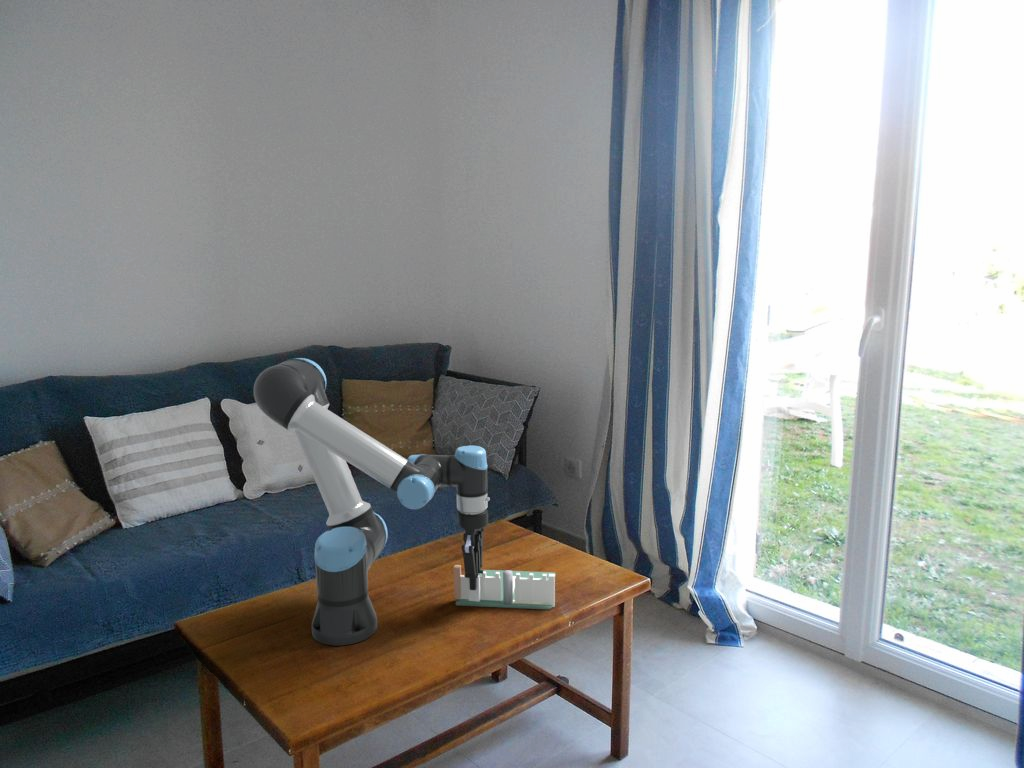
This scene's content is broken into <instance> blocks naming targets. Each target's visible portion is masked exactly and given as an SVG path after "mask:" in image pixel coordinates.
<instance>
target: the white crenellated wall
mask: <svg viewBox="0 0 1024 768" xmlns="http://www.w3.org/2000/svg"><path fill="white" fill-rule="evenodd" d="M464 575H465V574H462V565H461V564H454V566H453V595H454V596H453V598H454V600H457V599H469V597H468V578H466V577H465V576H464ZM480 598H481V599H480V600H496V601H499V600H500V601H501V577H500V572H496V574H495V577H493V576H486V571H483V574H482V576H480Z"/></svg>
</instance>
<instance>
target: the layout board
mask: <svg viewBox="0 0 1024 768" xmlns="http://www.w3.org/2000/svg"><path fill="white" fill-rule="evenodd" d="M482 570H483V571H486V576H493V577H495V574H496V572H500V577H501V601H500V600H499V601H496V600H480V601H479V602H478V601H469V599H456V602H455V606H461V607H462V606H463V607H465V606H466V607H488V608H504V609H505V608H506V609H507V608H508V609H527V610H528V609H529V610H531V609H532V610H535V609H536V610H552V608H553V607H552V604H549V603H543V602H522V601H520V602H516V601H515V577H516V573H520V578H529V574H530V573H533V578H542V579H543V574H547V579H549V574H555V577H556V575H557V572H555V571H554V572H552V571H551V572H550V571H548V572H547V571H527V570H526V571H524V570H520V571H519V570H511V571H512V572H513V602H512V603H511V604H506V603H504V602H503V571H505V570H504V569H503V570H501V569H500V570H499V569H498V570H497V569H482ZM479 574H480V573H479ZM480 576H482V574H480Z"/></svg>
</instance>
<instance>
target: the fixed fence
mask: <svg viewBox="0 0 1024 768" xmlns="http://www.w3.org/2000/svg"><path fill="white" fill-rule="evenodd" d="M512 571H513V570H511V569H506V570H504V571H503V602H504V603H506V604H511V603H512V602H513V572H512ZM555 582H556V576H555V574H549V579H547V574H543V579H542V578H533V573H530V574H529V578H520V573H516V577H515V601H516V602H520V601H522V602H543V603H549V604H552V608H555V606H556V603H555V602H556V598H555V597H556V589H555V587H556V583H555Z"/></svg>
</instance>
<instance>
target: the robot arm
mask: <svg viewBox="0 0 1024 768" xmlns="http://www.w3.org/2000/svg"><path fill="white" fill-rule="evenodd" d="M321 367H322V366H320V365H319V364H318V363H317V362H315V361H314V360H311V359H309V358H305V357H296V358H291V359H287V360H285V361H282V362H281V363H280V362H279V363H278V364H276V365H273V366H272V365H271V366H269V367H267V368H265V369H264V370H263V371H262V372H260V373H259V375H258V376H257V377H256V380H255V382H254V385H253V397H254V400H255V403H256V406H258V408H259V410H260V411H261V412H262V413H263V414H265V416H267V417H268V418H269V419H270V420H272V421H274V423H276V424H278V425H279V426H281V427H283V428H284V429H286V430H287V431H289V432H291V431H294V433H295V436H296V437H297V439H298V443H299V445H300V447H301V449H302V451H303V454H304V456H305V459H306V462H307V465H308V466H309V468H310V471H311V474H312V476H313V478H314V481H315V484H316V486H317V488H318V491H319V493H320V494H321V495H320V496H321V498H322V499H323V503H324V505H325V507H326V509H327V512H328V518H327V519H326V523H325V524H326V526H327V529H328V530H326V531H324V532H323V533H321V534H320V535H319V536H318V537H317V539H316V541H315V543H314V544H315V545H314V555H313V559H314V563H315V564H314V565H315V567H314V568H315V578H316V591H317V593H316V594H317V602H316V603H317V604H316V607H315V611H314V615H313V618H312V620H311V621H312V622H311V636H312V637H313V639H314V640H315V641H316V642H318V643H320V644H323V645H328V646H339V647H340V646H341V647H342V646H349V645H353V644H358V643H360V642H363V641H365V640H367V639H368V638H370V637H372V636H373V635H374V633H375V632H376V631H377V629H378V617H377V613H376V611H375V608H374V605H373V603H372V601H371V599H370V596H369V578H368V573H369V572H368V571H369V569H370V568H371V567H372V565H373V564H374V562H375V560H377V558H378V557H379V556H380V555H381V554H382V552H383V550H384V548H385V546H386V544H387V541H388V535H389V534H388V527H387V525H386V522H385V520H384V518H382V517H381V515H379V514H378V513H376V512H375V511H374V509H373V507H372V505H371V503H369V502H366V501H364V500H363V499H362V497H361V495H360V491H359V489H358V487H357V485H356V483H355V479H354V477H353V475H352V473H351V470H350V467H349V465H352V466H353V467H355V468H356V469H358V470H359V471H361V472H362V473H365V474H366V475H368V477H371V478H373V479H374V480H376V481H377V482H379V483H380V484H382V485H384V486H386V487H387V488H389V489H390V490H392V491H393V492H394V493H396V496H397V499H398V501H399V502H400V504H401V505H402V506H403V507H405V508H406V509H410V510H420V509H422V508H423V507H426V505H427V504H428V503H429V502H430V501H431V500H432V499H433V497H434V495H435V492H436V491H437V490H438V488H439V487H455V489H456V509H457V512H456V514H457V515H456V516H457V518H456V519H457V521H456V523H457V525H458V527H459V528H461V529H463V530H465V531H464V533H463V538H462V539H463V542H464V544H462V545H461V551H462V557H463V566H464V567H463V568H464V574H463V575H464V576H465V577H466V578H468V597H469V601H478V602H479V601H480V599H481V598H480V574H483V570H484V569H482V568H483V552H484V551H483V549H484V535H485V534H484V533H485V527H486V526H488V524H489V511H488V509H487V508H488V506H489V505H488V504H489V503H488V502H489V501H490V500H491V498H490V497H489V496H488V467H489V465H488V463H487V461H488V460H487V459H488V458H487V451H486V449H485V448H483V447H482V446H479V445H472V444H471V445H462V446H459V447H457V448H456V450H455V453H454V454H451V455H450V454H449V455H446V454H426V453H425V454H424V453H420V454H411V455H409V456H408V458H406V457H403V456H402V455H400V454H399V453H397V452H396V451H394V450H392V449H391V448H389V447H388V446H386V445H385V444H384V443H382V442H380V441H378V440H377V439H375V438H374V437H372V436H370V435H369V434H367V433H365V432H364V431H363V430H361V429H360V428H358V427H356V426H355V425H353V424H351V423H349V422H348V421H346V420H345V419H344V418H342V417H340V416H339V415H337V414H336V413H334V412H332V411H331V410H329V409H328V408H329V406H330V402H329V400H328V397H327V394H326V390H327V376H326V374H325V372H324V370H323V368H321ZM348 463H349V465H348ZM479 573H480V574H479Z"/></svg>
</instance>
